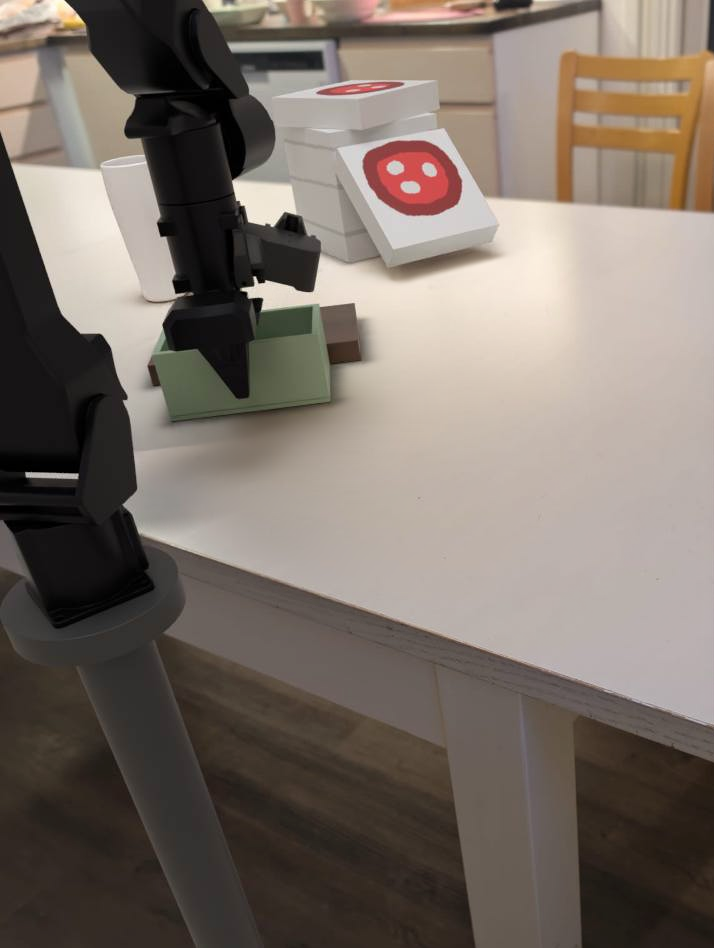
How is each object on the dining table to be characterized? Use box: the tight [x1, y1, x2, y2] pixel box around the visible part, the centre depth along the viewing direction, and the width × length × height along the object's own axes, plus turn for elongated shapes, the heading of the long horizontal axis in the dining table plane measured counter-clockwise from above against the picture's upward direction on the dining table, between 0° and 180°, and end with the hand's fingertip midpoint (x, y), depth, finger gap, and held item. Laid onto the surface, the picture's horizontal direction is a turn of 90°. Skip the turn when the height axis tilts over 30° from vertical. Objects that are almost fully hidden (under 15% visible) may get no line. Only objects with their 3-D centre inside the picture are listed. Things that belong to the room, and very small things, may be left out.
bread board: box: [146, 302, 362, 386], centre depth 94 cm, size 12×20×2 cm, turn 98°
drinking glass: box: [99, 154, 187, 303], centre depth 109 cm, size 7×7×15 cm
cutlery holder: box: [151, 303, 331, 422], centre depth 84 cm, size 9×14×6 cm, turn 98°
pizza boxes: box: [270, 79, 500, 269], centre depth 119 cm, size 19×30×18 cm, turn 33°
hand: (243, 397), depth 79 cm, fingers closed
